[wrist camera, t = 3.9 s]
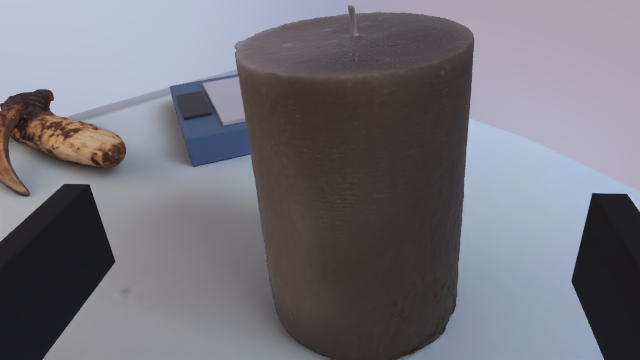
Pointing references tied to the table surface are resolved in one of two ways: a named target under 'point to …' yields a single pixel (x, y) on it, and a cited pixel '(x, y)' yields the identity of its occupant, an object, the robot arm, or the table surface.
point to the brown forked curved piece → (52, 136)
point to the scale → (212, 119)
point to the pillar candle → (360, 175)
